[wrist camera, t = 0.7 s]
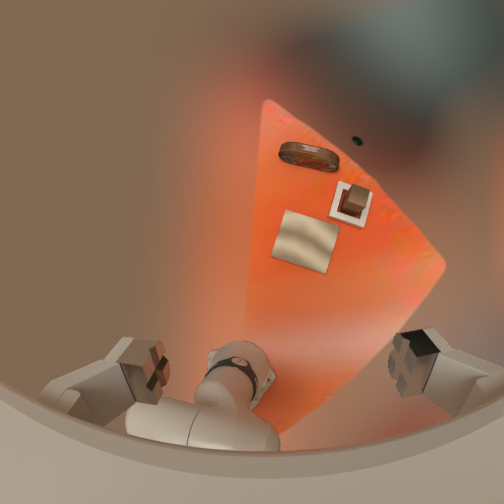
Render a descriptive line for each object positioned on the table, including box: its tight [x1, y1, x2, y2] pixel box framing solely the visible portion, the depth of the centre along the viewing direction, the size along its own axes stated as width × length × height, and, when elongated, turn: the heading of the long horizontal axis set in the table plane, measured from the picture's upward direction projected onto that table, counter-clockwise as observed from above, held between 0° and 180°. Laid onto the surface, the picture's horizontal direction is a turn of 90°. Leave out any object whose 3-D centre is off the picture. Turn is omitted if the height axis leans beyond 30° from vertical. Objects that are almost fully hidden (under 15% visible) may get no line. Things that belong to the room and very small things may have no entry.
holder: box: [328, 181, 373, 229], centre depth 63 cm, size 9×9×3 cm
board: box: [271, 210, 340, 274], centre depth 66 cm, size 12×14×1 cm
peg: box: [340, 184, 370, 216], centre depth 59 cm, size 4×4×12 cm
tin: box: [278, 142, 339, 172], centre depth 62 cm, size 15×3×8 cm, turn 75°
